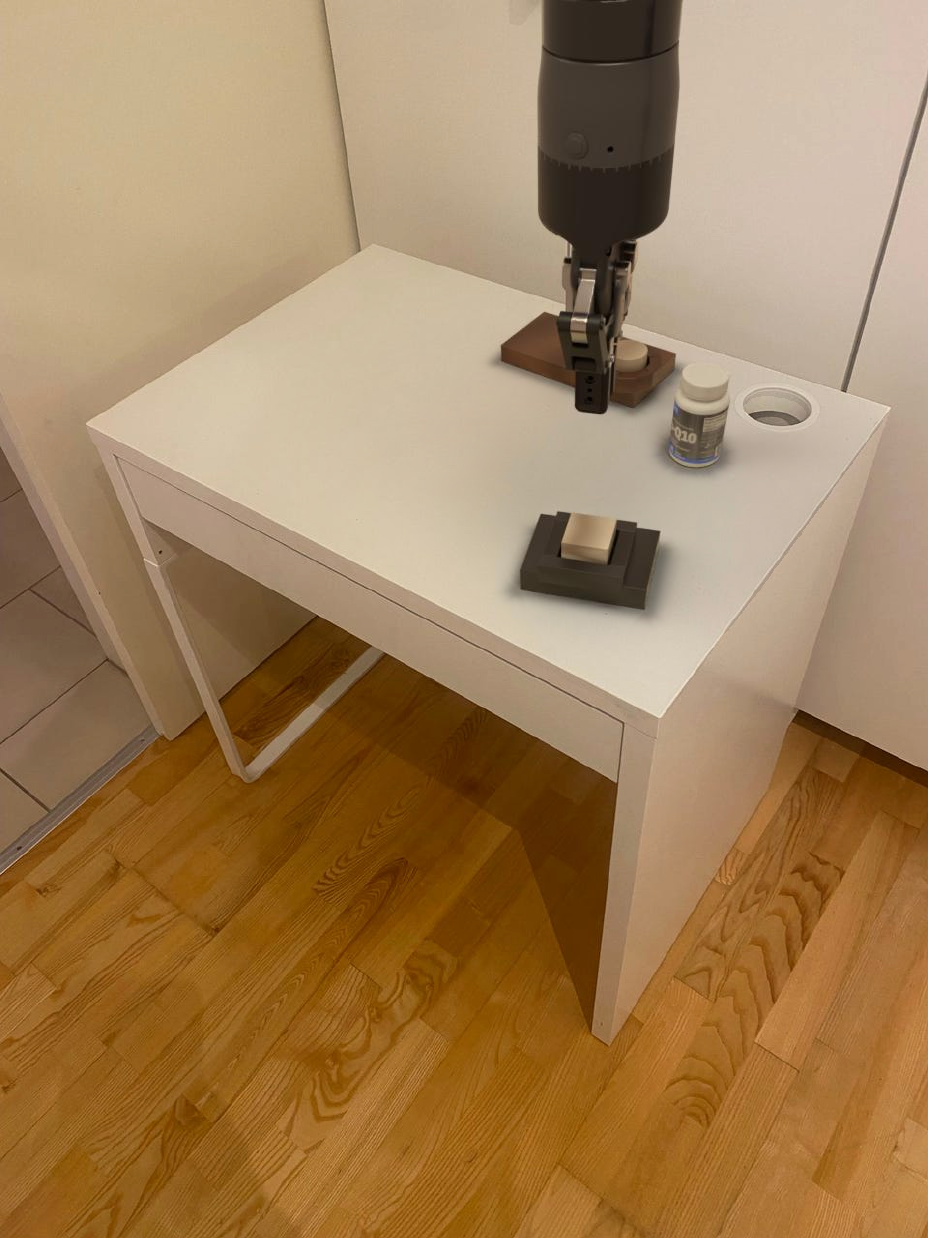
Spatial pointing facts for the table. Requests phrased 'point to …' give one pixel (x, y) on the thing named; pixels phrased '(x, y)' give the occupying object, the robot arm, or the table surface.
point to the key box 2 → (591, 565)
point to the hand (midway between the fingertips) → (594, 400)
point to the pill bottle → (699, 415)
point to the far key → (631, 356)
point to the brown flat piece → (544, 357)
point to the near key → (588, 538)
